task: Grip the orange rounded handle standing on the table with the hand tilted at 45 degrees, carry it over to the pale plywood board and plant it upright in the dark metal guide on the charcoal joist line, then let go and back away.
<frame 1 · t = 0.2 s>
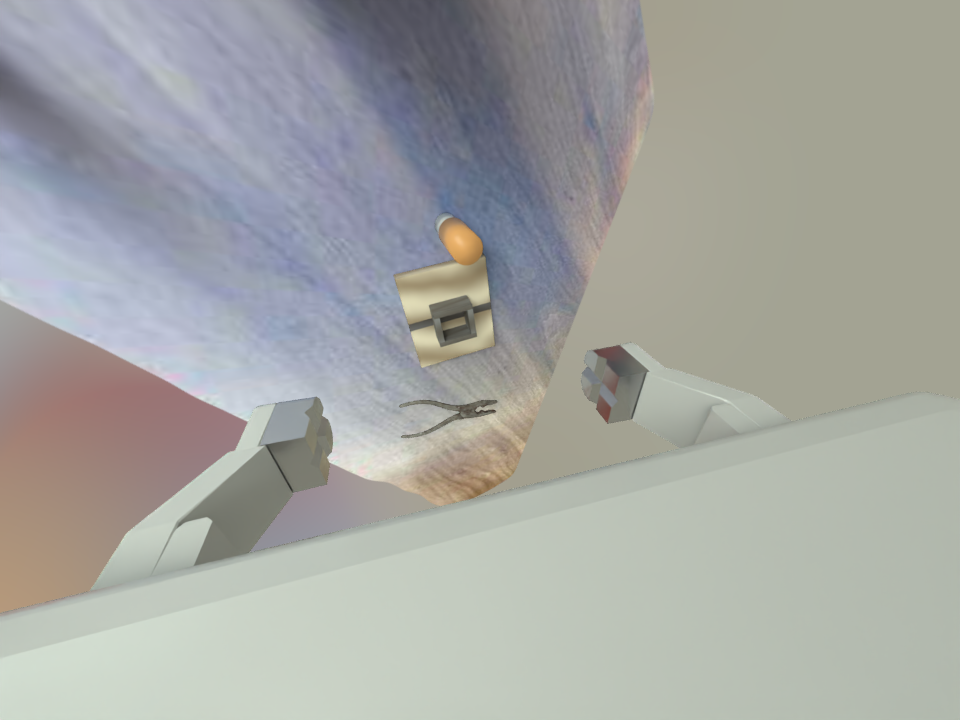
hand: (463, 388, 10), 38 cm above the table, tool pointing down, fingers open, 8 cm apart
orange rounded handle: (445, 224, 45), on the table
pliers: (446, 407, 66), on the table
cream rectangular base board: (448, 311, 53), on the table
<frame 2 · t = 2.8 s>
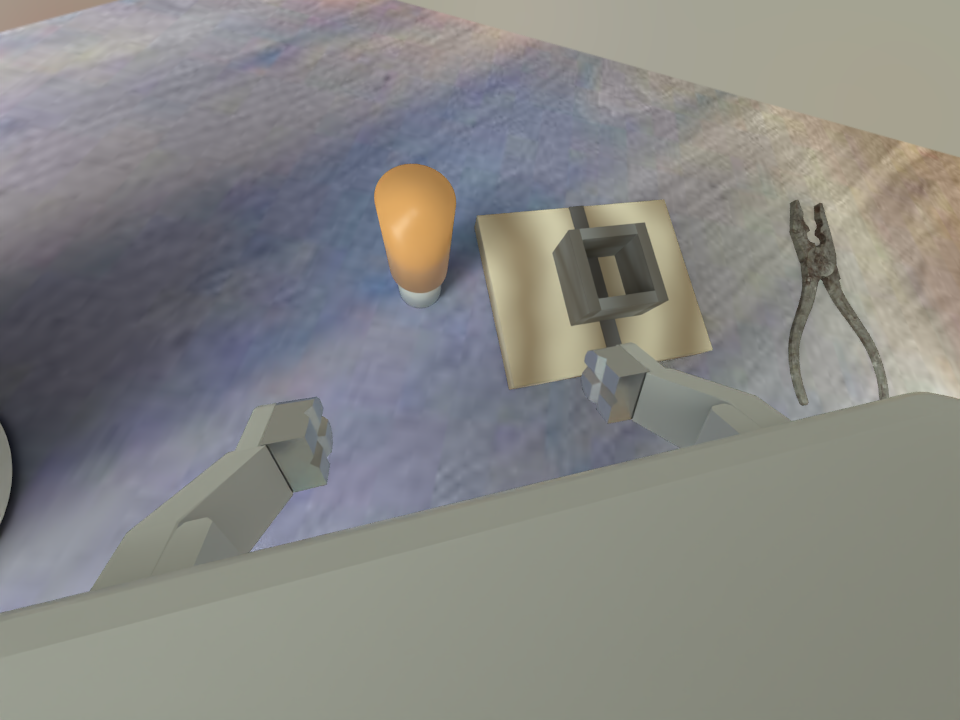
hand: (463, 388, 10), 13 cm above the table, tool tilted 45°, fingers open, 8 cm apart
orange rounded handle: (420, 288, 25), on the table
pliers: (804, 306, 31), on the table
cream rectangular base board: (587, 291, 27), on the table
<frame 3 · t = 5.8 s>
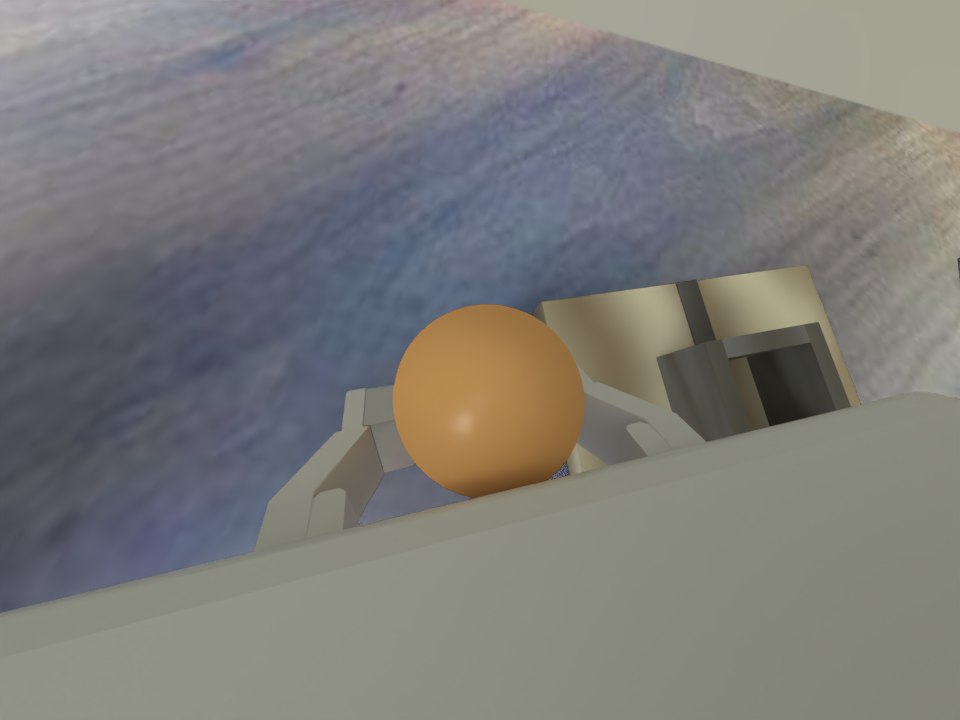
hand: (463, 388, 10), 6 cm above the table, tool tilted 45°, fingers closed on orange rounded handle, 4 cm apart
orange rounded handle: (453, 416, 16), on the table, touching gripper
cream rectangular base board: (700, 407, 18), on the table
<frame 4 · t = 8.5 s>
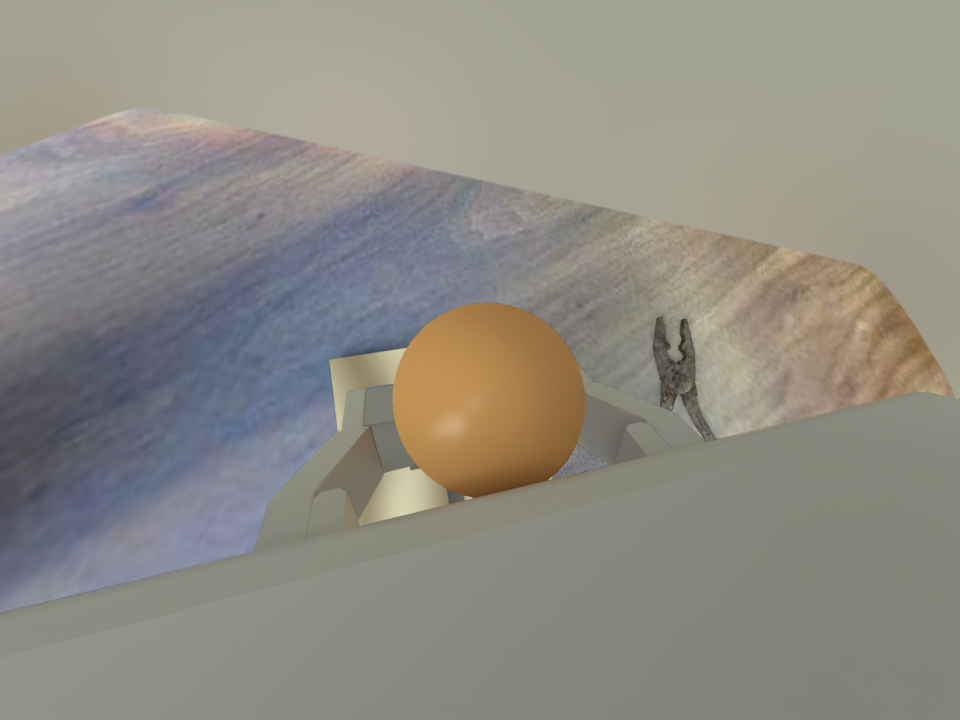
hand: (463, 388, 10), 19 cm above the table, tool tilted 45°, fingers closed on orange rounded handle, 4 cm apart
orange rounded handle: (453, 416, 16), point 13 cm above the table, touching gripper
pliers: (663, 421, 32), on the table
cream rectangular base board: (441, 421, 29), on the table
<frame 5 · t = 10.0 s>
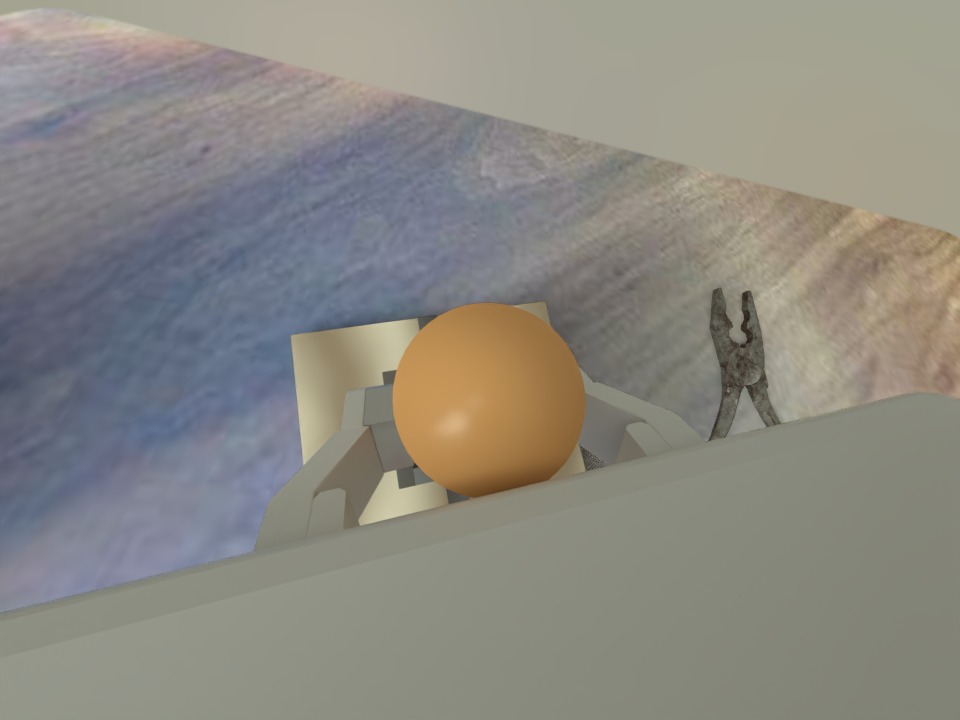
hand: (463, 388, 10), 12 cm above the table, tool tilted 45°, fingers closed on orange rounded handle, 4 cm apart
orange rounded handle: (453, 416, 16), point 6 cm above the table, touching gripper
pliers: (725, 419, 25), on the table
cream rectangular base board: (443, 420, 22), on the table
when the fingers open (8 cm above the table, at t = 11.2 s): orange rounded handle stays where it is, resting on cream rectangular base board.
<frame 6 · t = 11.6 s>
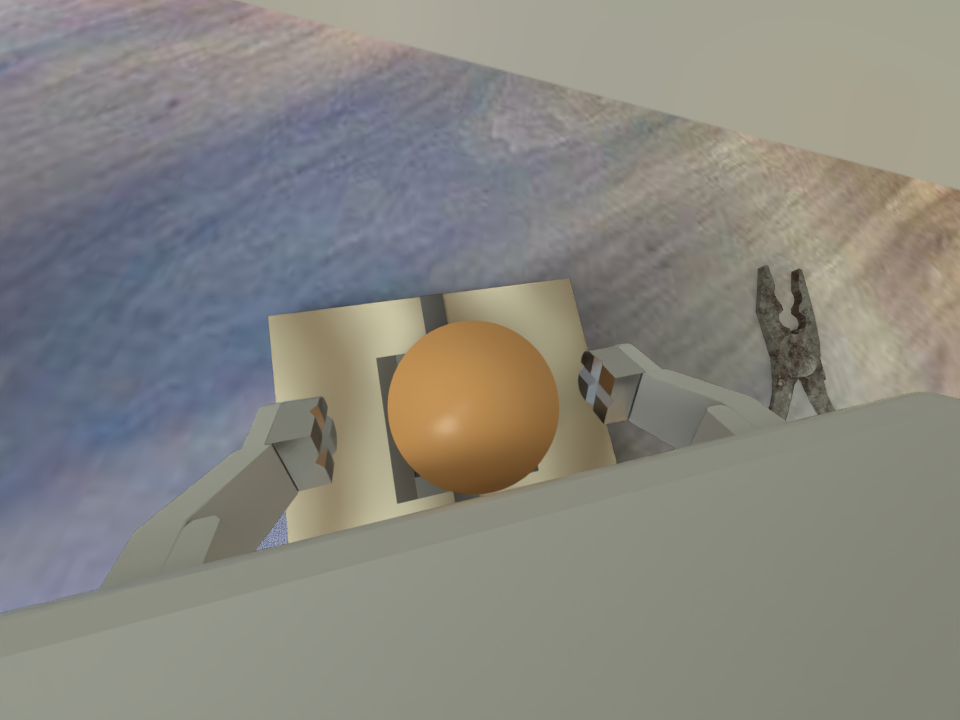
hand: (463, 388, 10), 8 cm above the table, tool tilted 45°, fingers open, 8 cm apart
orange rounded handle: (451, 416, 17), point 2 cm above the table, touching cream rectangular base board
pliers: (775, 417, 22), on the table
cream rectangular base board: (450, 418, 18), on the table
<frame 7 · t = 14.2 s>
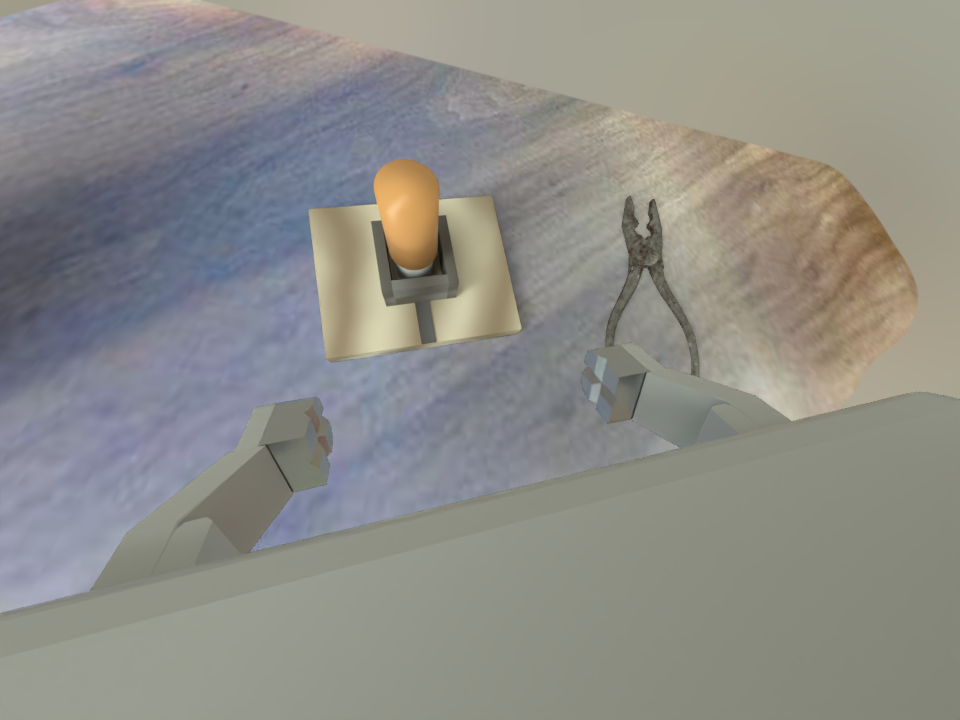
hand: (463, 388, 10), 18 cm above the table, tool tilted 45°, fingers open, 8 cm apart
orange rounded handle: (415, 269, 29), point 2 cm above the table, touching cream rectangular base board
pliers: (631, 292, 34), on the table
cream rectangular base board: (416, 277, 30), on the table
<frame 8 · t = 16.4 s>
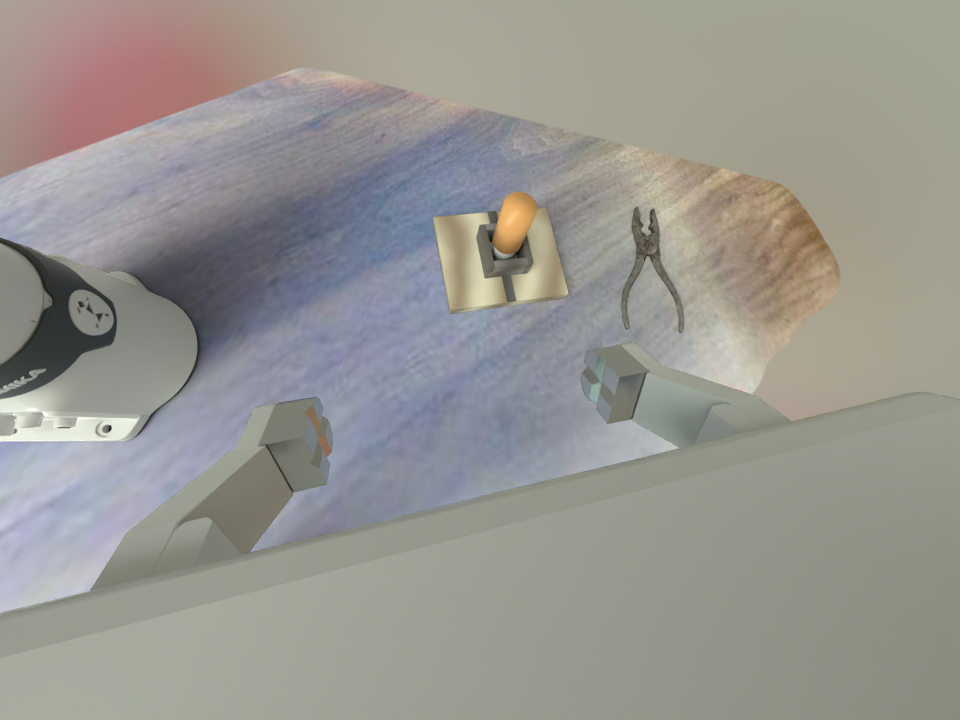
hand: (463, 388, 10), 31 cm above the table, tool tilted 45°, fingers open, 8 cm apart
orange rounded handle: (501, 255, 45), point 2 cm above the table, touching cream rectangular base board
pliers: (638, 272, 50), on the table
cream rectangular base board: (499, 261, 46), on the table
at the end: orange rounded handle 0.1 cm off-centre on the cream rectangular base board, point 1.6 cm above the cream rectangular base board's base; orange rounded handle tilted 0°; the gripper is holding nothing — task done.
